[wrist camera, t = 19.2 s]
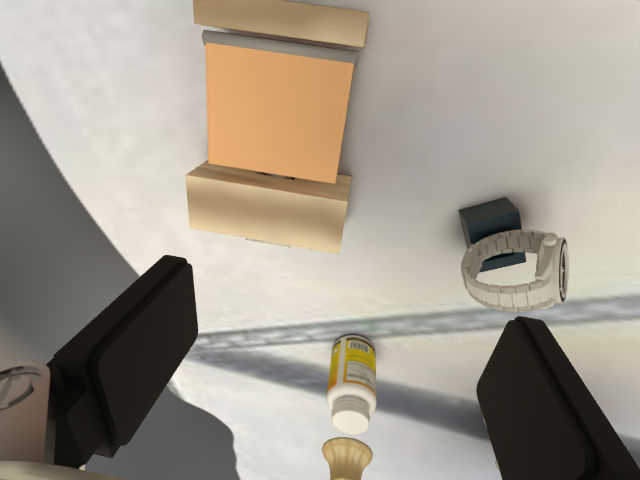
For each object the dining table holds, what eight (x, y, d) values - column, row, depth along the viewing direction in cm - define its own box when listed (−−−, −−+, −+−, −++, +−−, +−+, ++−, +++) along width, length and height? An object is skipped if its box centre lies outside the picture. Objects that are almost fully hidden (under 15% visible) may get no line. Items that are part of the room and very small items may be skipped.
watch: (535, 240, 33) (601, 314, 24) (451, 260, 36) (481, 335, 26) (528, 189, 31) (599, 250, 21) (440, 214, 33) (468, 279, 24)
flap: (338, 181, 29) (337, 184, 28) (210, 160, 29) (205, 163, 28) (358, 52, 24) (358, 51, 23) (207, 30, 25) (202, 29, 24)
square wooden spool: (343, 221, 35) (338, 253, 29) (218, 200, 36) (189, 228, 30) (379, 20, 26) (381, 11, 21) (211, -3, 27) (169, -18, 21)
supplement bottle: (342, 366, 46) (335, 441, 37) (326, 338, 44) (314, 410, 35) (381, 358, 44) (384, 435, 35) (366, 328, 42) (365, 402, 33)
